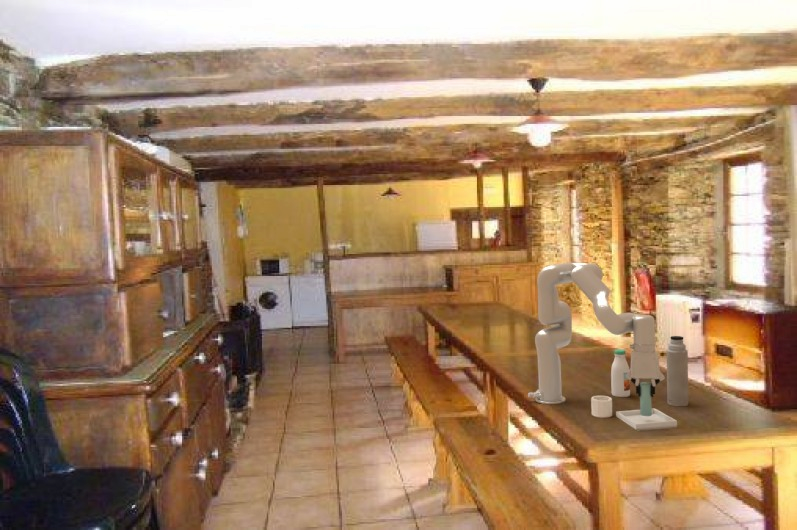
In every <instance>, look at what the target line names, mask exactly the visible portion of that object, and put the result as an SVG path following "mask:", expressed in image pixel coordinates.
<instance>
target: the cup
mask: <svg viewBox="0 0 797 530" xmlns="http://www.w3.org/2000/svg"><path fill="white" fill-rule="evenodd" d="M590 402H591V403H590V408H591V416H594V417H596V418H610V417H612V416H613V398H612V397H610V396H607V395H593V396H591V398H590Z"/></svg>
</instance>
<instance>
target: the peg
mask: <svg viewBox="0 0 797 530" xmlns="http://www.w3.org/2000/svg"><path fill="white" fill-rule="evenodd" d="M651 383H652V382H649V381H648V382H647V381H642V382H639V385H640V397H639V404H640V406H639V407H640V409H639V410H640V415H642V416H651V415H652V409H653V408H652V407H653V405H652V397H651Z"/></svg>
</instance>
